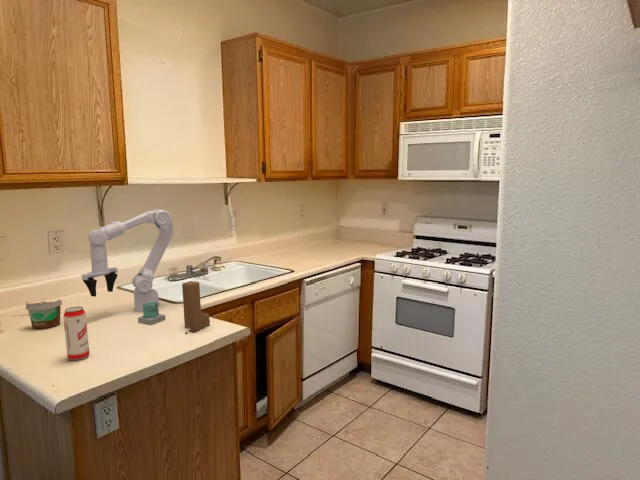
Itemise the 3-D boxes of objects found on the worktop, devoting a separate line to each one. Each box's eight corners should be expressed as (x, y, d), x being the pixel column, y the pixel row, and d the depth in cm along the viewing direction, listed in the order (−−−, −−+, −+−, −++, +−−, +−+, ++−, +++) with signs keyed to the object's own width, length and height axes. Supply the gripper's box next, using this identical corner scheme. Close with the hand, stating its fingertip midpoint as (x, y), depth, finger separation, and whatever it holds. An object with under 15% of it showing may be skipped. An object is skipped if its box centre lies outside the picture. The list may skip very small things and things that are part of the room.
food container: (22, 332, 168) (19, 306, 166) (28, 327, 174) (25, 301, 172) (60, 329, 171) (57, 303, 169) (64, 323, 177) (61, 299, 175)
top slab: (152, 317, 179) (152, 312, 179) (165, 319, 176) (165, 314, 176) (138, 322, 173) (137, 317, 173) (151, 325, 170) (150, 320, 170)
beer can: (93, 353, 147) (88, 305, 145) (84, 361, 141) (79, 311, 139) (73, 353, 147) (69, 306, 145) (63, 361, 141) (58, 312, 138)
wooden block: (200, 323, 175) (198, 278, 172) (210, 325, 173) (207, 279, 170) (184, 331, 167) (181, 283, 164) (194, 332, 165) (191, 284, 162)
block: (147, 314, 176) (146, 302, 176) (158, 314, 177) (158, 301, 176) (143, 318, 172) (142, 305, 171) (155, 317, 172) (154, 305, 172)
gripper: (108, 256, 187) (110, 288, 189) (75, 262, 174) (78, 297, 176) (120, 257, 183) (122, 290, 185) (87, 264, 171) (90, 299, 173)
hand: (102, 293), depth 180 cm, fingers open, 7 cm apart
